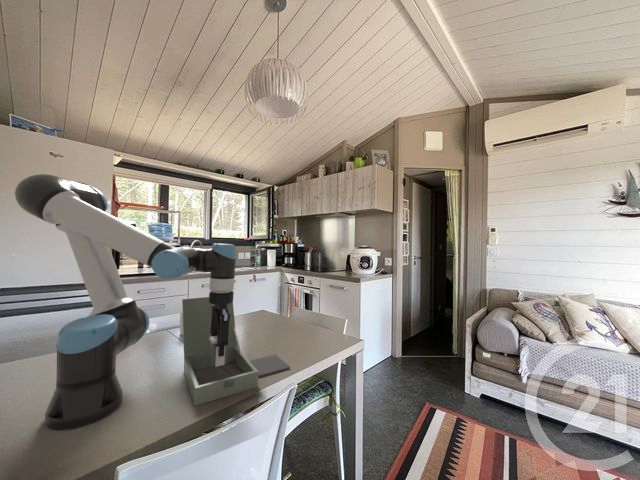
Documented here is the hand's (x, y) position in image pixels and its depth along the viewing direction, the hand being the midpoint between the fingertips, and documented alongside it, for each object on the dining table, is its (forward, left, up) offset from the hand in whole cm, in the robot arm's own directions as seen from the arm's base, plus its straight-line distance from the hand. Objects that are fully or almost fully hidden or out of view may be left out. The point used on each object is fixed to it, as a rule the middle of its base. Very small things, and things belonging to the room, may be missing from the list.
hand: (217, 361), depth 86 cm
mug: (+1, +49, -6) cm, 49 cm away
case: (+1, +4, -6) cm, 7 cm away
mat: (+18, 0, -6) cm, 19 cm away
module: (0, 0, 0) cm, 0 cm away
